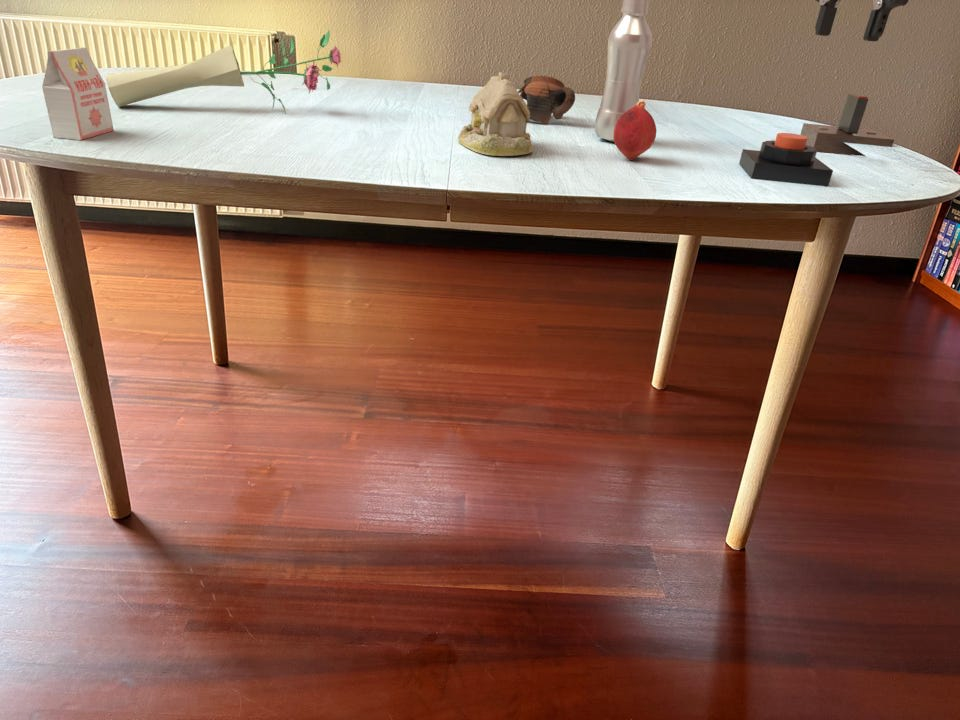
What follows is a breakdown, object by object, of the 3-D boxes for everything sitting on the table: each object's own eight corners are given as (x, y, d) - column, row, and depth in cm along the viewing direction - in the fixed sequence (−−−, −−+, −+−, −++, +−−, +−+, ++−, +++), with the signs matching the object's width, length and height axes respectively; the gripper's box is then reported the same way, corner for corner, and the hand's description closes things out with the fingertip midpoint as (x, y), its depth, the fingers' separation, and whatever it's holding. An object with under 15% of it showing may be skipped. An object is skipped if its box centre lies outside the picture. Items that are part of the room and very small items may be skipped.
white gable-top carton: (53, 137, 86) (33, 50, 81) (87, 127, 92) (71, 46, 87) (80, 140, 85) (63, 52, 80) (113, 130, 91) (98, 48, 86)
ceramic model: (450, 135, 104) (453, 64, 99) (520, 137, 106) (526, 67, 102) (472, 157, 92) (477, 77, 87) (550, 158, 95) (560, 81, 90)
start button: (800, 147, 95) (803, 134, 94) (807, 153, 92) (811, 139, 91) (770, 144, 95) (774, 131, 95) (777, 150, 92) (780, 137, 91)
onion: (628, 166, 94) (639, 104, 90) (601, 156, 98) (610, 97, 94) (659, 163, 97) (670, 103, 93) (631, 154, 101) (640, 96, 97)
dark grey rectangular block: (837, 127, 117) (848, 92, 114) (847, 128, 117) (858, 93, 114) (847, 133, 113) (859, 96, 110) (857, 133, 113) (869, 97, 110)
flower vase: (142, 151, 112) (350, 106, 118) (122, 144, 101) (353, 95, 106) (116, 76, 109) (331, 34, 115) (92, 60, 98) (332, 14, 103)
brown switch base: (868, 147, 120) (874, 128, 118) (888, 158, 112) (895, 138, 110) (798, 140, 121) (803, 122, 119) (812, 151, 113) (818, 131, 111)
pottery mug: (501, 121, 120) (509, 75, 120) (531, 141, 128) (539, 98, 128) (558, 113, 113) (566, 64, 113) (587, 135, 120) (595, 89, 120)
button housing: (809, 171, 99) (818, 143, 97) (828, 187, 91) (837, 156, 89) (738, 164, 100) (745, 136, 98) (751, 179, 92) (759, 148, 90)
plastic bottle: (599, 134, 113) (619, -2, 103) (639, 141, 110) (664, 1, 100) (587, 140, 107) (607, -3, 98) (629, 147, 105) (653, 1, 95)
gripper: (956, -100, 84) (907, 44, 92) (862, -93, 96) (825, 34, 103) (913, -107, 82) (867, 42, 89) (822, -99, 93) (788, 32, 101)
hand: (845, 38), depth 96 cm, fingers open, 8 cm apart
